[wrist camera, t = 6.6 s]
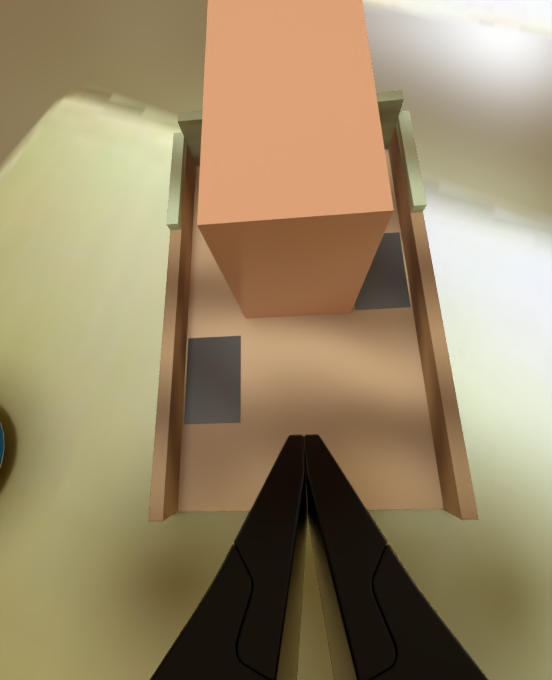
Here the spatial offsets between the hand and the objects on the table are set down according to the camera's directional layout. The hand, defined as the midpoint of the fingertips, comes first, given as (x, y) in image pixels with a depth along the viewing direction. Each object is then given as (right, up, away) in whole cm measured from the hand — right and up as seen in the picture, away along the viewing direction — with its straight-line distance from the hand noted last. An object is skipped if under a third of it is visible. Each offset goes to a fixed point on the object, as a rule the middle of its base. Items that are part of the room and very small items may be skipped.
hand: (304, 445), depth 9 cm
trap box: (0, +5, +8) cm, 10 cm away
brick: (0, +9, +9) cm, 13 cm away
